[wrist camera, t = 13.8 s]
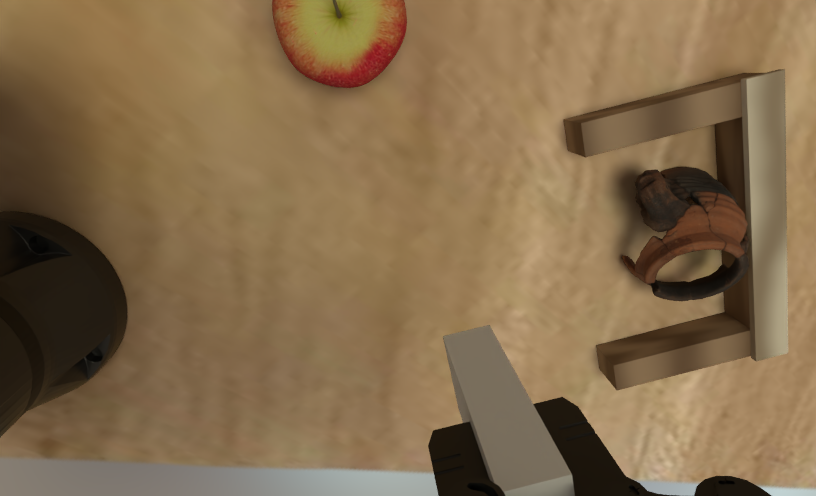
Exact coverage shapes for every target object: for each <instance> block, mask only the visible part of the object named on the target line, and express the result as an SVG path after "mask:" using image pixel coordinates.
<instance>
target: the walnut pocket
mask: <svg viewBox="0 0 816 496" xmlns="http://www.w3.org/2000/svg"><path fill="white" fill-rule="evenodd" d="M712 124H715V136H716V155H717V173H718V181H719V182H721V183H722V184H723V186H725V187H726V189H727V190H728V191H729V192H731V194H732V196H734V197H735V199H736V201H737V203H738V207H739V208H740V209H741V210H742V211H743V212H744V214H745V219H746V221H747V223H748V225H747V227H746V232H745V234H744V236H745V235H747V236H748V237H749V245H748V249H747V252H746V254H747V256H748V259H749V267H748V270H747V272H746V273H745V275H744V277H743V278H741V279H740V280H739V281H738V282H737V283H736V284H734V285H733V286H732V287H730V288H729V289H727V290H725V291H724V303H725V312H724V313H720V314H717V315H713V316H709V317H705V318H701V319H697V320H693V321H689V322H686V323H682V324H678V325H674V326H670V327H666V328H662V329H658V330H655V331H651V332H647V333H643V334H639V335H635V336H631V337H627V338H624V339H620V340H616V341H612V342H608V343H604V344H600V345H596V347H597V354H598V361H599V368H600V370H601V371H602V372H603V374H604V375H605V376H606V377H607V379H608V380H609V381H610V382H611V384H612V385H613V386H614V387H615V389H616V390H620V389H624V388H628V387H632V386H636V385H640V384H644V383H647V382H651V381H655V380H659V379H663V378H667V377H671V376H675V375H678V374H682V373H686V372H690V371H694V370H698V369H702V368H706V367H709V366H713V365H717V364H721V363H725V362H729V361H733V360H737V359H741V358H744V357H748V356H751V358H752V359H754V360H755V361H759V360H763V359H767V358H771V357H775V356H779V355H783V354H786V353H788V295H787V207H786V119H785V69H779V70H775V71H771V72H767V73H742V74H738V75H734V76H731V77H727V78H723V79H719V80H715V81H711V82H707V83H703V84H699V85H696V86H692V87H688V88H684V89H680V90H676V91H672V92H668V93H665V94H661V95H657V96H653V97H649V98H645V99H641V100H637V101H634V102H630V103H626V104H622V105H618V106H614V107H610V108H606V109H603V110H599V111H595V112H591V113H587V114H583V115H579V116H575V117H572V118H568V119H564V126H565V133H566V140H567V147H568V151H570V152H573V153H575V154H578V155H581V156H584V157H588V156H592V155H596V154H600V153H604V152H608V151H612V150H615V149H619V148H623V147H627V146H631V145H635V144H639V143H643V142H647V141H650V140H654V139H658V138H662V137H666V136H670V135H674V134H678V133H681V132H685V131H689V130H693V129H697V128H701V127H705V126H709V125H712ZM743 238H744V237H743ZM741 242H743V239H742V240H741ZM741 242H740V243H741ZM734 260H735V257H734V256H733V255H732V254H731V253H729V252H726V251H723V250H722V264H725V265H726V266H727V267H728V268H729V267H730V266H731V265H732V264H733V262H734Z"/></svg>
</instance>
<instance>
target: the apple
mask: <svg viewBox="0 0 816 496" xmlns="http://www.w3.org/2000/svg"><path fill="white" fill-rule="evenodd" d="M272 10H273V19H274V24H275V28H276V32H277V35H278V38H279V40H280V43H281V45H282V48H283V50H284V52H285V54H286V55H287V57H288V59H289V60H290V62H291V63H292V64H293V66H294V67H295V68H296V69H297V70H298V71H299V72H300V73H302V74H303V75H305V76H306V77H308V78H310V79H312V80H314V81H317V82H319V83H322V84H325V85H329V86H334V87H343V88H351V87H358V86H362V85H364V84H366V83H368V82H370V81H371V80H373V79H374V78H375V77H377V76H378V75H379V74H380V73H381V72H382V71H383V70H384V69H385V68H386V67H387V66H388V64H389V63H390V62H391V61H392V59H393V58H394V56H395V55H396V53H397V52H398V50H399V48H400V46H401V44H402V42H403V39H404V36H405V32H406V25H407V17H406V9H405V3H404V0H273V2H272Z"/></svg>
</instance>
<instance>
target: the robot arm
mask: <svg viewBox="0 0 816 496" xmlns="http://www.w3.org/2000/svg"><path fill="white" fill-rule="evenodd" d="M126 320H127V307H126V300H125V295H124V292H123V288H122V286H121V283H120V281H119V279H118V277H117V275H116V273H115V271H114V269H113V268H112V266H111V265H110V263H109V262H108V261H107V259H106V258H105V257H104V256H103V254H102V253H101V252H100V251H99V250H98V249H97V248H96V247H95V246H94V245H93V244H92V243H90V242H89V241H88V240H87V239H85V238H84V237H83V236H81V235H80V234H78V233H77V232H75V231H74V230H72V229H70V228H69V227H67V226H65V225H63V224H61V223H58V222H56V221H54V220H51V219H48V218H45V217H42V216H38V215H34V214H29V213H23V212H0V437H1V436H2V435H3V434H4V433H5V432H6V431H7V430H8V429H9V428H10V427H11V426H12V425H13V424H14V423H15V422H16V421H17V420H18V419H19V418H20V417H21V416H22V415H23V414H24V413H25V412H26V411H28V410H30V409H32V408H34V407H37V406H39V405H41V404H43V403H46V402H48V401H50V400H52V399H54V398H57V397H59V396H61V395H63V394H66V393H68V392H70V391H72V390H74V389H76V388H78V387H80V386H81V385H83V384H84V383H86V382H87V381H88V380H90V379H91V378H92V377H93V376H94V375H95V374H96V373H97V372H98V371H99V370H100V369H101V368H102V367H103V366H104V365H105V364H106V363H107V361H108V360H109V359H110V358H111V357H112V356H113V354H114V353H115V352H116V350H117V348H118V347H119V345H120V343H121V340H122V338H123V335H124V332H125V327H126ZM443 339H444V343H445V348H446V353H447V357H448V362H449V366H450V371H451V376H452V380H453V385H454V389H455V394H456V399H457V403H458V408H459V411H460V414H461V417H462V420H463V423H462V424H458V425H454V426H450V427H446V428H442V429H438V430H434V431H433V433H432V436H431V439H430V442H429V445H428V447H429V452H430V456H431V461H432V466H433V471H434V475H435V480H436V485H437V489H438V495H439V496H676V495H662V494H656V493H652V492H649V491H647V490H646V489H645V488H644V487H643V486H642V485H641V484H640V483H638V482H636V481H634V480H632V479H630V478H628V477H626V476H625V475H624V473H623V472H622V470H621V469H620V468H619V466H618V465H617V463H616V462H615V460H614V459H613V457H612V456H611V454H610V453H609V451H608V450H607V448H606V447H605V446H604V444H603V443H602V441H601V440H600V438H599V437H598V435H597V434H595V431H594V429H593V428H592V427H591V425H590V424H589V423H588V422H587V419H586V418H585V416H584V415H583V413H582V412H581V410H580V409H579V408H578V406H576V405H574V404H573V403H571V402H570V401H568V400H566V399H565V398H563V397H560V398H556V399H552V400H548V401H544V402H540V403H536V404H533V403H532V401H531V399H530V398H529V396H528V394H527V392H526V390H525V389H524V387H523V385H522V383H521V381H520V380H519V378H518V376H517V374H516V372H515V370H514V369H513V367H512V365H511V363H510V361H509V360H508V358H507V356H506V354H505V352H504V351H503V349H502V347H501V345H500V343H499V342H498V340H497V338H496V336H495V334H494V333H493V331H492V329H491V327H490V325H487V326H483V327H479V328H475V329H471V330H467V331H462V332H458V333H454V334H450V335H446V336H443ZM694 496H771V495H770V494H768V493H767V492H765V491H764V490H763V489H761V488H760V487H758V486H756V485H754V484H752V483H750V482H749V481H747V480H744V479H740V478H736V477H732V476H715V477H711V478H708V479H705V480H703V481H702V482H701V483H700V484H699V485H698V486H697V488H696V492H695V495H694Z"/></svg>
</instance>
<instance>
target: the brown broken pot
mask: <svg viewBox="0 0 816 496" xmlns="http://www.w3.org/2000/svg"><path fill="white" fill-rule="evenodd" d="M635 186H636V189H637V194H636V197H635V198H636V202H637V203H638V205H639V207H640V208H641V214H642V216H643V220H644V223H645V224H646V225H648V226H649V227H651V228H652V229H653V230H655V231H657V232H663V231H666V230H667V233H666V235H665V236H664V237H663V239H660V238H658V237H656V236H653V237H652V238H651V239H650V240H649V242H648V243H647V244H646V246H645V247H644V249H643V250H642V251H641V253H640V256H639V258H638V259H637V261H636V264H634V262H633V261H632V259H630V258H629V257H628V256H622V259H623V260H624V263H625V265H626V266H627V267H628V269H629V270H630V272H631V273H632V274H633V275H635V276H636V277H638V278H639V279H640V280H642V281H643V282H645V283H646V284H648V285H651V287H652V291H653V294H654V295H655V296H657V297H660V298H663V299H667V300H673V301H688V300H696V299H703V298H706V297H710V296H713V295H716V294H718V293H721V292H723V291H725V290H727V289H729V288H730V287H732V286H733V285H734V284H736V283H737V282H738V281H739V280H740V279H741V278H743V277H744V275H745V273H746V272H747V270H748V267H749V259H748V256H747V254H746V252H747V249H748V245H749V237H748V236H747V235H745V236H744V234H745V232H746V227H747V225H748V223H747V221H746V219H745V214H744V212H743V211H742V210H741V209H740V208H739V207H738V203H737V201H736V199H735V197H734V196H732V194H731V192H729V191H728V190H727V189H726V187H725V186H723V184H722V183H721V182H719V181H717V180H715V179H714V178H713V177H712V176H711V175H709V174H708V173H707V172H705V171H702V170H700V169H697V168H690V167H677V168H672V169H668V170H664V171H662V172H661V173H660V172H659V171H658V170H647V171H645V172H644V173H642V174H641V175H639V176H638V178H637V180H636V182H635ZM688 196H689V197H691V198H692V199H693V200H694V201H695V202H696V203H697V204H698V205H695V204H692V205H689V203H688V202H687V201H686V200H685V199H686V198H687V197H688ZM743 237H744V238H743ZM742 239H743V242H741V240H742ZM740 242H741V243H740ZM705 249H715V250H723V251H726V252H729V253H731V254H732V255H733V256H734V257H735V260H734V262H733V264H732V265H731V266H730V267H729V268H728V267H727V266H726V265H725V264H722V265H721V266H720V267H719V269H718V270H717V271H716V272H714V273H713V274H711V275H709V276H706V277H703V278H699V279H696V280H693V281H691V282H685V281H681V282H661V281H657V280H655V279H656V275H657V272H658V271H659V269H660V268H661V267H662V266H663V265H665V264H666V263H667V262H669V261H670V260H672V259H673V258H675V257H676V256H678V255H682V254H685V253H688V252H693V251H698V250H705Z"/></svg>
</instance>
